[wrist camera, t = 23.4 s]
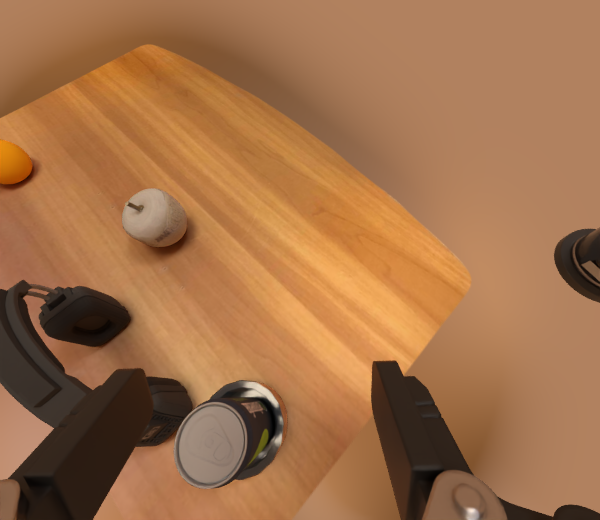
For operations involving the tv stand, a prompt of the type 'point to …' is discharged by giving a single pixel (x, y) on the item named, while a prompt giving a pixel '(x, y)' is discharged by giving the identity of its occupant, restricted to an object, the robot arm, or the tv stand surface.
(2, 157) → the orange
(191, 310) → the tv stand surface
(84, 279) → the tv stand surface
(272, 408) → the holder
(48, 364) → the headphones
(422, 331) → the tv stand surface
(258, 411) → the beverage can
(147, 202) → the decorative object
